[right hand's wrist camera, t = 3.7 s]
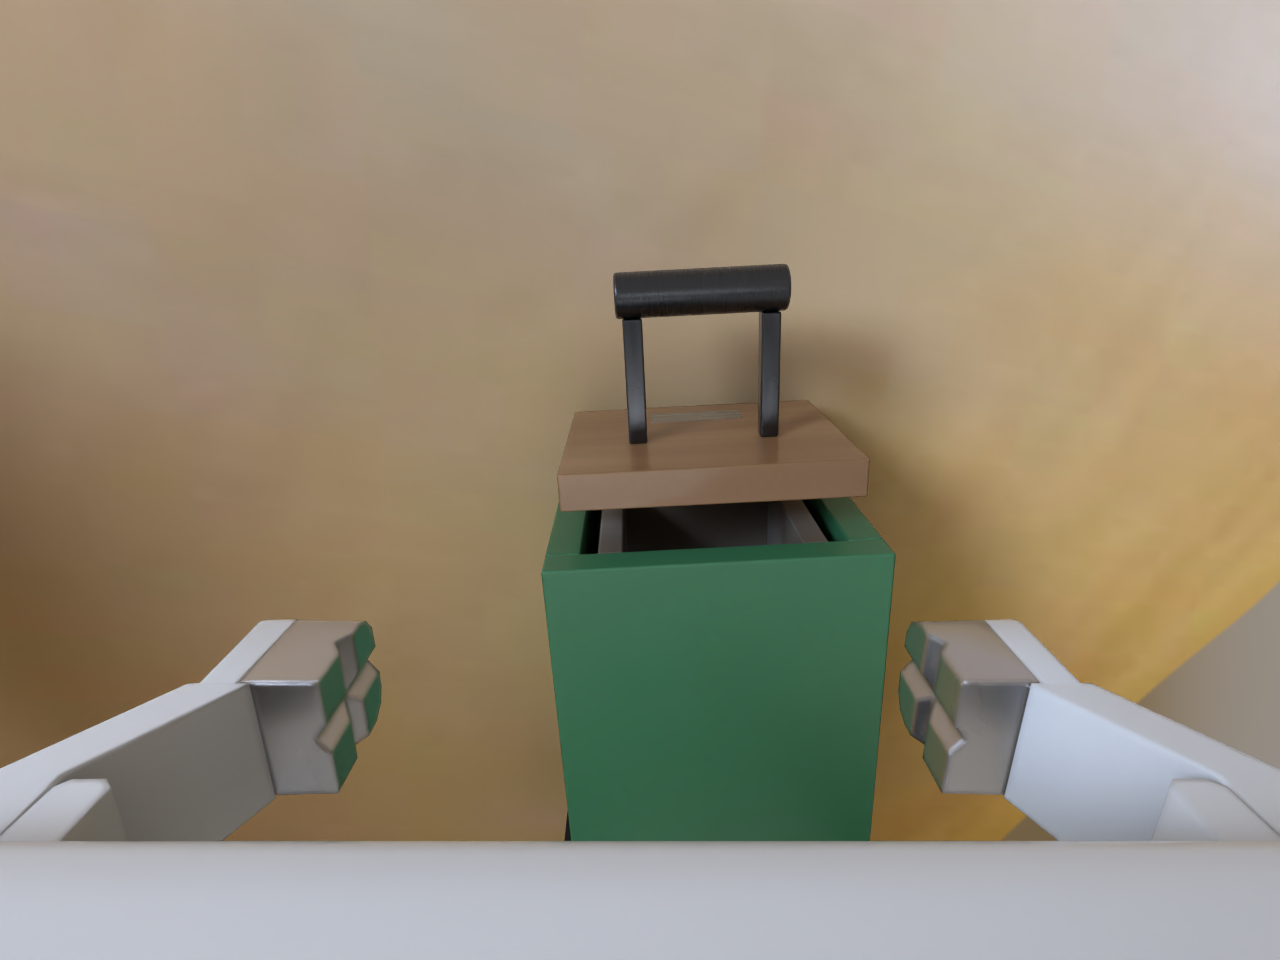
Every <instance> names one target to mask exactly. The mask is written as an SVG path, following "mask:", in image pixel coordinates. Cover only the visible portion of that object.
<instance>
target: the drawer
mask: <svg viewBox="0 0 1280 960" xmlns="http://www.w3.org/2000/svg"><path fill="white" fill-rule="evenodd" d="M613 284H614V302H615V315H616V318H617V319H623V321H622V322H623V340H624V358H625V375H626V393H627V409H624V410H605V411H586V412H575V415H574V419H573V422H572V426H571V429H570V433H569V436H568V439H567V443H566V446H565V450H564V453H563V457H562V460H561V464H560V467H559V471H558V474H557V481H558V491H559V501H560V511H561V512H571V511H590V510H602V515H601V526H600V536H599V547H598V554H601V553H621V552H640V551H660V550H679V549H699V548H718V547H737V546H757V545H776V544H796V543H815V542H828V541H827V539H826V538H825V536H824V534H823V533H822V531H821V530H820V528H819V527H818V525H817V523H816V522H815V520H814V519H813V517H812V515H811V514H810V512H809V511H808V509H807V508H806V506H805V504H804V503H803V501H802V500H803V499H823V498H842V497H862V496H867V489H868V475H869V461H870V459H869V458H868V457H867V456H866V455H865V454H864V453H863V452H862V451H861V450H860V449H859V448H858V447H857V446H856V445H855V444H853V443H852V442H851V441H850V440H849V439H848V438H847V437H846V436H845V435H844V434H843V433H842V432H841V431H840V430H839V429H838V428H837V427H836V426H835V425H834V424H833V423H832V422H831V421H829V420H828V419H827V418H826V417H825V416H824V415H823V414H822V413H821V412H820V411H819V410H818V409H817V408H816V407H815V406H814V405H813V404H812V403H811V402H810V401H809V400H798V401H779V391H780V346H781V312H779V311H783V310H786V309H787V308H788V306H789V303H790V297H791V276H790V271H789V268H788V266H787V265H786V264H773V265H754V266H735V267H716V268H697V269H677V270H658V271H639V272H620V273H614V275H613ZM745 312H759V370H758V403H740V404H721V405H701V406H682V407H663V408H646V397H645V376H644V354H643V333H642V318H649V317H668V316H688V315H707V314H726V313H745Z"/></svg>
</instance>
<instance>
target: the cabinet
mask: <svg viewBox="0 0 1280 960" xmlns="http://www.w3.org/2000/svg"><path fill="white" fill-rule="evenodd" d="M802 501H803V503H804V504H805V506H806V508H807V509H808V511H809V512H810V514H811V515H812V517H813V519H814V520H815V522H816V523H817V525H818V527H819V528H820V530H821V531H822V533H823V534H824V536H825V538H826V539H827V541H828V542H815V543H796V544H776V545H757V546H737V547H718V548H699V549H679V550H660V551H640V552H621V553H601V554H598V547H599V536H600V526H601V515H602V510H590V511H571V512H561V511H560V501H559V504H558V508H557V512H556V516H555V520H554V524H553V528H552V532H551V536H550V540H549V544H548V548H547V552H546V556H545V561H544V565H543V569H542V573H541V574H542V583H543V592H544V601H545V610H546V619H547V628H548V637H549V646H550V655H551V664H552V673H553V682H554V691H555V700H556V708H557V717H558V726H559V735H560V744H561V753H562V762H563V771H564V780H565V789H566V798H567V807H568V816H569V825H570V834H571V841H870V832H871V821H872V810H873V799H874V788H875V777H876V766H877V755H878V744H879V732H880V721H881V710H882V699H883V688H884V677H885V666H886V655H887V644H888V632H889V621H890V610H891V599H892V588H893V577H894V566H895V553H894V552H893V550H892V549H891V548H890V547H889V546H888V544H887V543H886V542H885V541H884V540H883V539H882V537H881V536H880V534H879V533H878V532H877V531H876V530H875V528H874V527H873V526H872V525H871V523H870V522H869V521H868V520H867V519H866V517H865V516H864V515H863V514H862V512H861V511H860V510H859V509H858V508H857V506H856V505H855V504H854V503H853V501H852V500H851V499H850V498H849V497H842V498H823V499H803V500H802Z"/></svg>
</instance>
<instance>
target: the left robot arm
mask: <svg viewBox="0 0 1280 960" xmlns="http://www.w3.org/2000/svg"><path fill="white" fill-rule="evenodd" d="M565 841H571V834H570V825H569V816H568V813H567V822H566V832H565Z"/></svg>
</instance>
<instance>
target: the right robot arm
mask: <svg viewBox="0 0 1280 960" xmlns="http://www.w3.org/2000/svg"><path fill="white" fill-rule="evenodd" d="M374 648H375V642H374V637H373V631H372V627H371V626H370V625H369V624H368V623H367V622H366V621H343V620H297V619H279V620H265V621H260V622H259V623H258V624H257V625H256V626H255V627H254V628H253V629H252V630H251V631H250V632H249V633H248V634H247V635H246V636H245V637H244V638H243V639H242V640H241V641H240V643H239V644H238V645H237V646H236V647H235V648H234V649H233V650H232V651H231V652H230V653H229V654H228V655H227V656H226V657H225V658H224V659H223V660H222V661H221V662H220V663H219V664H218V665H217V666H216V667H215V668H214V669H213V670H212V671H211V672H210V673H209V674H208V675H207V676H206V677H205V678H204V679H203V680H202V681H201V682H200V683H188V684H186V685H184V686H181V687H179V688H177V689H175V690H173V691H170V692H168V693H166V694H164V695H161V696H159V697H157V698H155V699H153V700H150V701H148V702H146V703H144V704H142V705H139V706H137V707H135V708H133V709H131V710H128V711H126V712H124V713H122V714H120V715H117V716H115V717H113V718H111V719H109V720H106V721H104V722H102V723H100V724H97V725H95V726H93V727H91V728H89V729H86V730H84V731H82V732H80V733H78V734H75V735H73V736H71V737H69V738H67V739H64V740H62V741H60V742H58V743H56V744H53V745H51V746H49V747H47V748H45V749H42V750H40V751H38V752H36V753H33V754H31V755H29V756H27V757H25V758H22V759H20V760H18V761H16V762H14V763H11V764H9V765H7V766H5V767H3V768H0V960H1280V769H1279V768H1277V767H1275V766H1272V765H1270V764H1268V763H1266V762H1264V761H1262V760H1259V759H1257V758H1255V757H1253V756H1250V755H1248V754H1246V753H1244V752H1242V751H1240V750H1237V749H1235V748H1233V747H1231V746H1228V745H1226V744H1224V743H1222V742H1220V741H1217V740H1215V739H1213V738H1211V737H1209V736H1206V735H1204V734H1202V733H1200V732H1198V731H1195V730H1193V729H1191V728H1189V727H1187V726H1184V725H1182V724H1180V723H1178V722H1176V721H1173V720H1171V719H1169V718H1167V717H1165V716H1162V715H1160V714H1158V713H1156V712H1154V711H1151V710H1149V709H1147V708H1145V707H1143V706H1140V705H1138V704H1136V703H1134V702H1132V701H1129V700H1127V699H1125V698H1123V697H1121V696H1118V695H1116V694H1114V693H1112V692H1110V691H1107V690H1105V689H1103V688H1101V687H1099V686H1096V685H1094V684H1092V683H1080V682H1079V681H1078V680H1077V679H1076V678H1075V677H1074V676H1073V675H1072V674H1071V673H1070V672H1069V671H1068V670H1067V669H1066V668H1065V667H1064V666H1063V665H1062V664H1061V663H1060V662H1059V661H1058V660H1057V659H1056V658H1055V657H1054V656H1053V655H1052V654H1051V653H1050V652H1049V651H1048V649H1047V648H1046V647H1045V646H1044V645H1043V644H1042V643H1041V642H1040V641H1039V640H1038V639H1037V638H1036V637H1035V636H1034V635H1033V634H1032V633H1031V632H1030V631H1029V630H1028V629H1027V628H1026V627H1025V626H1024V625H1023V624H1022V623H1021V622H1019V621H1016V620H1014V619H997V620H971V621H931V622H911V624H910V627H909V629H908V631H907V635H906V641H905V648H906V649H907V651H908V653H909V654H910V656H911V657H912V660H911V661H910V662H909V663H908V664H907V665H906V667H905V668H904V669H903V670H902V671H901V673H900V681H899V690H898V692H899V703H900V710H901V714H902V717H903V720H904V723H905V725H906V727H907V729H908V731H909V733H910V735H911V736H913V737H914V738H916V739H917V740H919V741H920V742H922V743H923V744H925V746H924V752H923V759H924V761H925V763H926V765H927V767H928V768H929V770H930V772H931V774H932V776H933V778H934V779H935V781H936V783H937V785H938V787H939V789H940V790H941V792H942V793H955V794H991V795H1005V796H1004V798H1005V799H1006V800H1008V801H1009V802H1010V803H1011V804H1013V805H1014V806H1015V807H1016V808H1018V809H1019V810H1020V811H1021V812H1023V813H1024V814H1025V815H1027V816H1028V817H1029V818H1030V819H1032V820H1033V821H1034V822H1035V823H1037V824H1038V825H1039V826H1040V827H1042V828H1043V829H1044V830H1045V831H1047V832H1048V833H1049V834H1050V835H1052V836H1053V837H1054V838H1056V839H1057V840H1058V841H222V840H224V839H225V838H226V837H227V836H229V835H230V834H231V833H232V832H234V831H235V830H236V829H237V828H239V827H240V826H241V825H242V824H244V823H245V822H246V821H247V820H249V819H250V818H251V817H252V816H254V815H255V814H256V813H258V812H259V811H260V810H261V809H263V808H264V807H265V806H266V805H268V804H269V803H270V802H271V801H273V800H274V799H275V798H276V796H275V795H288V794H323V793H338V792H339V791H340V789H341V787H342V785H343V783H344V781H345V780H346V778H347V776H348V774H349V772H350V770H351V769H352V767H353V765H354V763H355V761H356V759H357V752H356V746H355V745H356V744H357V743H359V742H360V741H362V740H363V739H365V738H366V737H367V736H369V735H370V733H371V731H372V729H373V727H374V725H375V723H376V721H377V717H378V713H379V708H380V704H381V680H380V673H379V671H378V670H377V669H376V668H375V667H374V665H373V664H372V663H371V662H370V661H369V660H368V657H369V656H370V654H371V653H372V651H373V649H374Z"/></svg>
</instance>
